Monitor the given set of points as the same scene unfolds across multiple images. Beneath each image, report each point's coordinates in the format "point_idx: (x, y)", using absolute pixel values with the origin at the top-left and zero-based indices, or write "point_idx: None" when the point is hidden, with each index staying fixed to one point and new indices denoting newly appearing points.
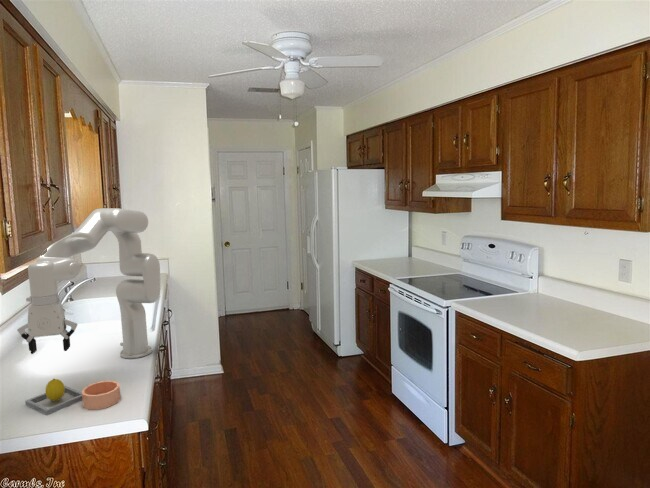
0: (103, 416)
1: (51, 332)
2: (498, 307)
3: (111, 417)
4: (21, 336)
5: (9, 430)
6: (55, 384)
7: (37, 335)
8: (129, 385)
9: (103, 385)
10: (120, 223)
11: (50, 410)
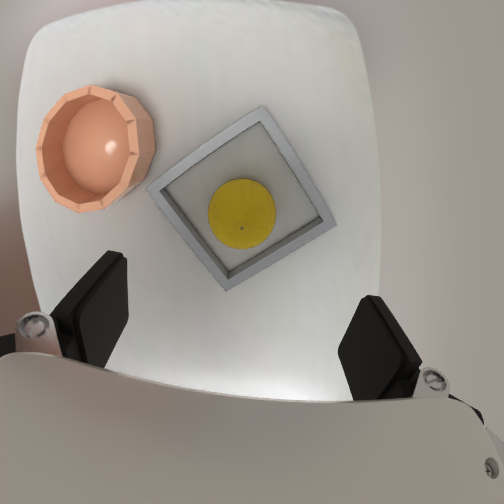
0: (101, 44)
1: (134, 424)
2: None
3: (84, 35)
4: (477, 413)
5: (356, 63)
6: (234, 198)
7: (398, 407)
8: (53, 230)
9: (87, 200)
10: None
11: (251, 112)
